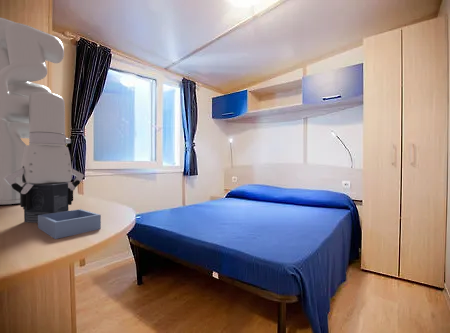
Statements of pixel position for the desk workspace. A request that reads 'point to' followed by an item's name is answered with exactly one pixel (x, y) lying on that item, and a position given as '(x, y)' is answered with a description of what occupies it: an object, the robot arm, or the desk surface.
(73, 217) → the tray
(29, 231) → the desk surface
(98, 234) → the desk surface
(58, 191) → the box
